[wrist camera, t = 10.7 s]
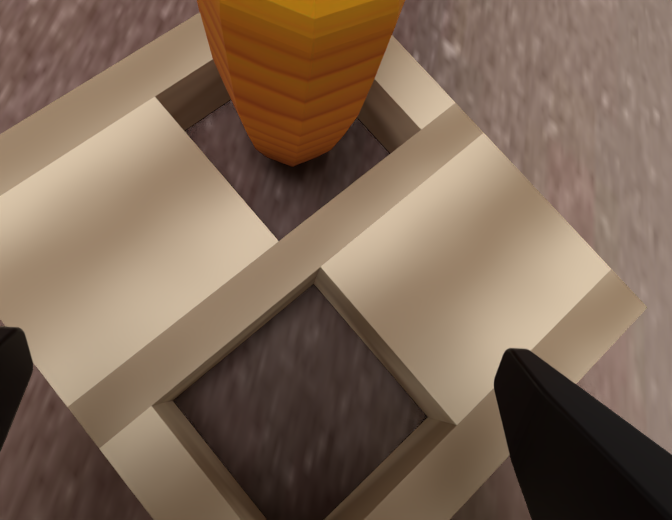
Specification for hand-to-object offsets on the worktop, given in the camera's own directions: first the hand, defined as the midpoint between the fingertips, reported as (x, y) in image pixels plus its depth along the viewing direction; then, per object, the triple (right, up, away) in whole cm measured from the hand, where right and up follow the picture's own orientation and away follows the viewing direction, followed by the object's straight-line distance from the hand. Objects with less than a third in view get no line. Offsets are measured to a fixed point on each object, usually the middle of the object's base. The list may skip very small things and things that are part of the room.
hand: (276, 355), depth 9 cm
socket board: (0, +1, +9) cm, 9 cm away
